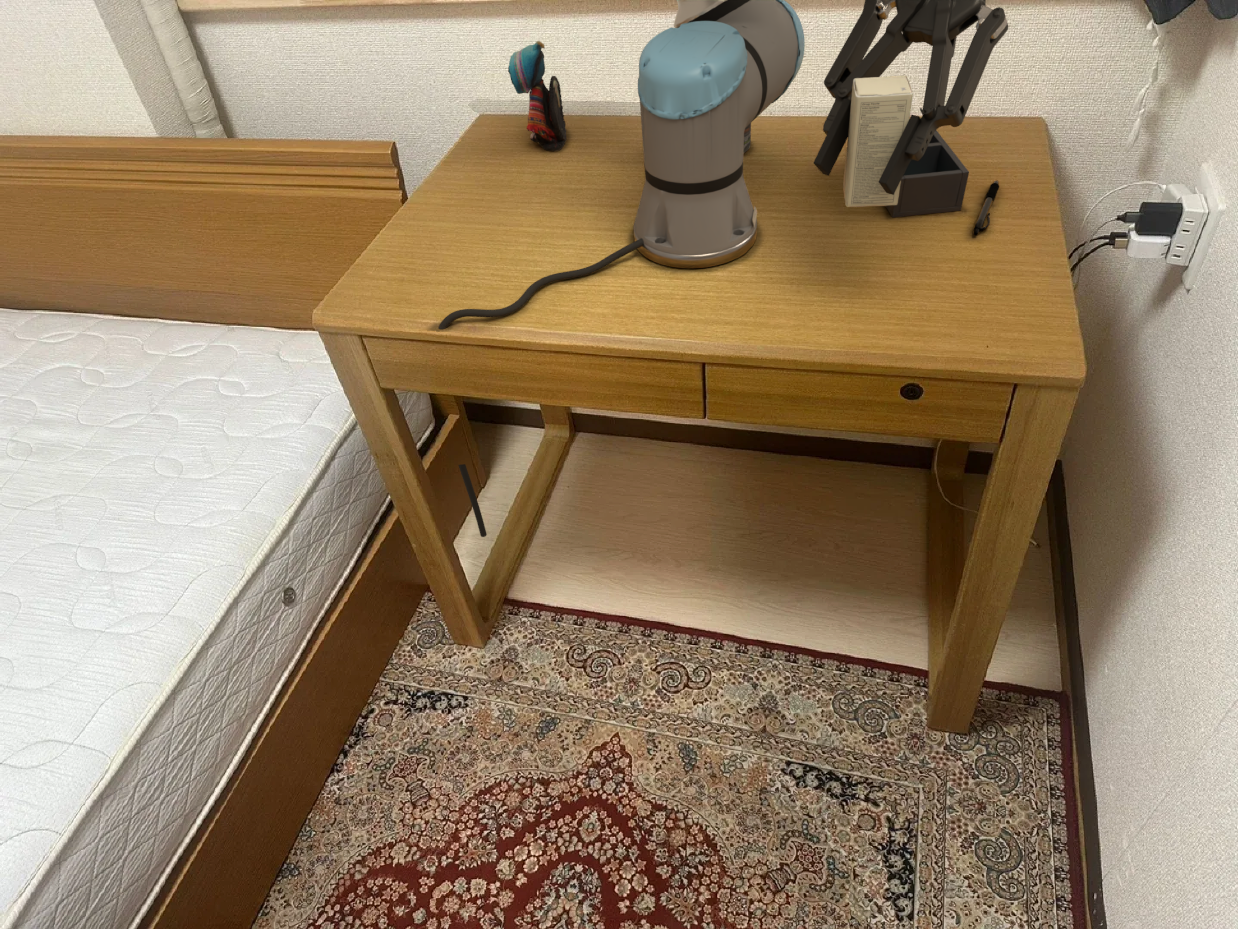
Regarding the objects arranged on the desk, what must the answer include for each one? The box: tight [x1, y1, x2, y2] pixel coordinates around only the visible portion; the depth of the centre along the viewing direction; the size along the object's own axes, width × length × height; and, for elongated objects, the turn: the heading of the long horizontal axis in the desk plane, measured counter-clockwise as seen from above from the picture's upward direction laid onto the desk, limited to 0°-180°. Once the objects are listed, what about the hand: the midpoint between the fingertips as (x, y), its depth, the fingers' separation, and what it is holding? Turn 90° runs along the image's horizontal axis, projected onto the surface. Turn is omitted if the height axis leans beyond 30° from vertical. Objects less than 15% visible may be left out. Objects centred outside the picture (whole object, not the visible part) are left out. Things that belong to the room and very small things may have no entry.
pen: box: [972, 179, 1000, 237], centre depth 105 cm, size 14×2×1 cm, turn 153°
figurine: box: [507, 40, 567, 152], centre depth 126 cm, size 10×7×15 cm
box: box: [842, 74, 914, 208], centre depth 82 cm, size 5×4×11 cm
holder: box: [885, 117, 970, 218], centre depth 110 cm, size 9×16×5 cm, turn 3°
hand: (853, 178), depth 81 cm, fingers closed on box, 6 cm apart
